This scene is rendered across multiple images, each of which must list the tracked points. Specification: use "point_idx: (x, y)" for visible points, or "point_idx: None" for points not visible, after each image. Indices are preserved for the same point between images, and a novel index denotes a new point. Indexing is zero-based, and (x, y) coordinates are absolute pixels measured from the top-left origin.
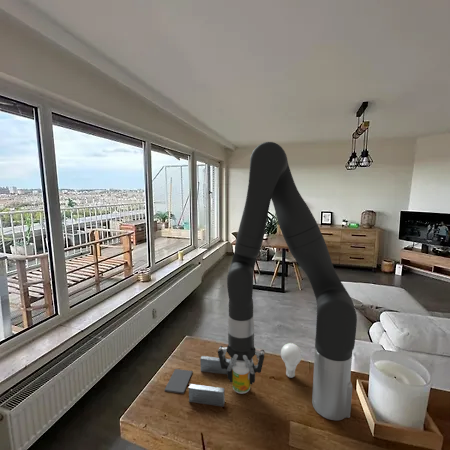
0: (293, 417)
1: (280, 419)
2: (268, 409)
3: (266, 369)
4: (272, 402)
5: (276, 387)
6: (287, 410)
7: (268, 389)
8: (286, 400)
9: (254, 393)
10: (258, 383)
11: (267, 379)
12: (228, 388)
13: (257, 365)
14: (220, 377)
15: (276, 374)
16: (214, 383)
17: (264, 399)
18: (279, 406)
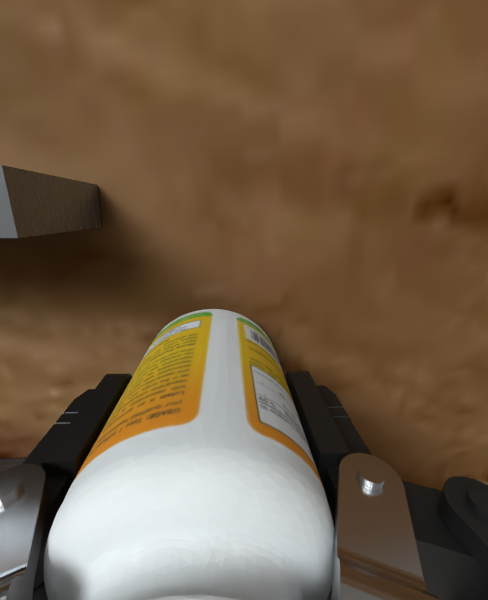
0: (477, 465)
1: (415, 483)
2: (368, 449)
3: (411, 106)
4: (396, 409)
5: (446, 300)
6: (461, 438)
7: (390, 325)
8: (476, 384)
9: (299, 369)
10: (328, 284)
11: (399, 234)
12: (125, 360)
13: (469, 568)
14: (29, 269)
15: (482, 164)
16: (9, 335)
17: (355, 398)
18: (428, 424)
